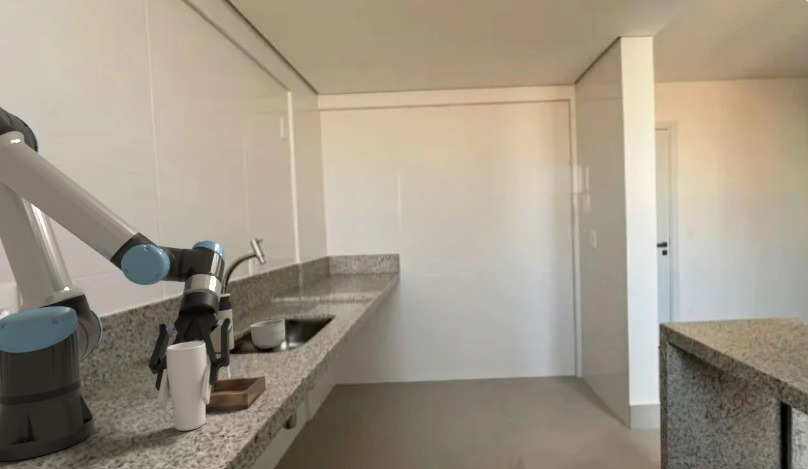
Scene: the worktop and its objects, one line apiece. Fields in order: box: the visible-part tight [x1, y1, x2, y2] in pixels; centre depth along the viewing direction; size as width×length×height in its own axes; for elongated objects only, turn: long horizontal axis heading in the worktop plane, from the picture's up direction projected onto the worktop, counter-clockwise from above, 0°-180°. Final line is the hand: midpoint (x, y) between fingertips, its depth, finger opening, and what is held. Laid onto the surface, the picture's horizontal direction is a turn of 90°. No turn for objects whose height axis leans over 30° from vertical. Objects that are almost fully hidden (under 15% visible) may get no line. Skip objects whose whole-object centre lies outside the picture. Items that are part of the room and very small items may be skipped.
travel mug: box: [210, 293, 235, 354], centre depth 153 cm, size 8×8×18 cm
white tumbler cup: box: [165, 340, 208, 432], centre depth 87 cm, size 7×7×15 cm
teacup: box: [249, 319, 286, 350], centre depth 156 cm, size 14×11×8 cm
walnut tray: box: [206, 375, 267, 412], centre depth 101 cm, size 12×12×3 cm
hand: (183, 403), depth 84 cm, fingers closed on white tumbler cup, 7 cm apart
